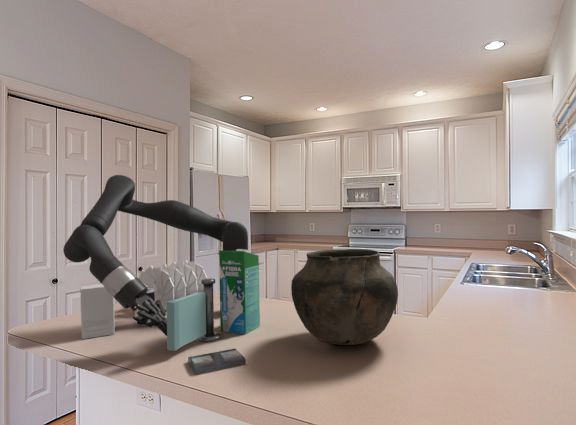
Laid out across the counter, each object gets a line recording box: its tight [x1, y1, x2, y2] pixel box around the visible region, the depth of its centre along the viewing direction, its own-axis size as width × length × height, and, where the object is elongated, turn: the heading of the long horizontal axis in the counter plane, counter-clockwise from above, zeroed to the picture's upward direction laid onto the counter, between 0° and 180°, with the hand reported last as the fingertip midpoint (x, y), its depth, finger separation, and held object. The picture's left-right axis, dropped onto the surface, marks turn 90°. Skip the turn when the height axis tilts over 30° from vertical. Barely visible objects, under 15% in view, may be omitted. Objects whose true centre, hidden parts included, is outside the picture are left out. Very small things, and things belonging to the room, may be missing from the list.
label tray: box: [187, 348, 247, 376], centre depth 88 cm, size 12×8×2 cm, turn 117°
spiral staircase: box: [138, 259, 209, 312], centre depth 147 cm, size 18×18×25 cm
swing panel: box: [166, 292, 206, 351], centre depth 98 cm, size 14×2×12 cm, turn 157°
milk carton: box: [218, 249, 261, 335], centre depth 115 cm, size 9×9×25 cm
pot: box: [290, 248, 399, 346], centre depth 101 cm, size 29×32×25 cm
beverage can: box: [136, 286, 155, 327], centre depth 121 cm, size 6×6×12 cm
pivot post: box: [196, 277, 222, 343], centre depth 106 cm, size 7×7×17 cm
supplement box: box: [79, 282, 116, 340], centre depth 113 cm, size 9×9×15 cm
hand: (170, 332), depth 96 cm, fingers closed
